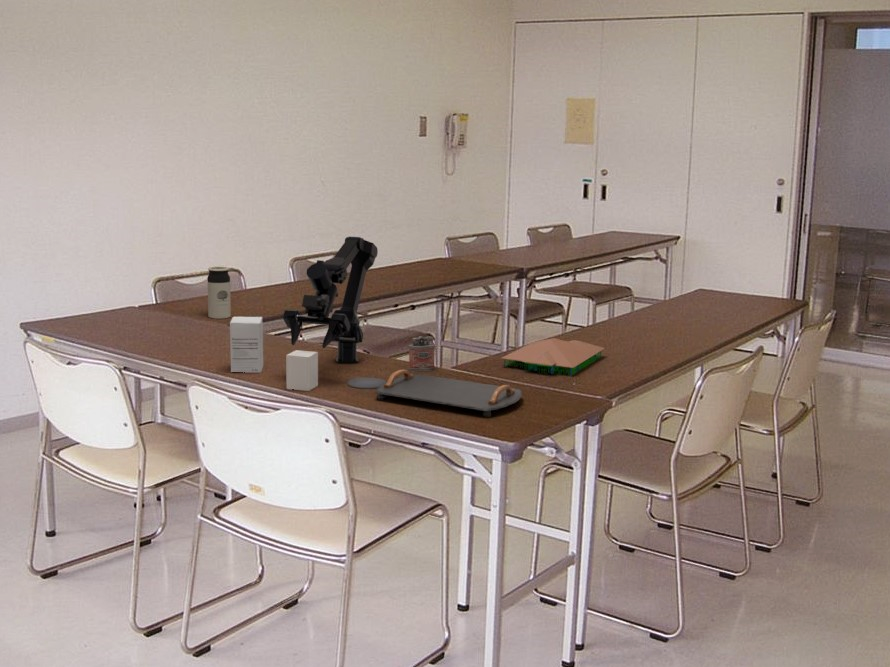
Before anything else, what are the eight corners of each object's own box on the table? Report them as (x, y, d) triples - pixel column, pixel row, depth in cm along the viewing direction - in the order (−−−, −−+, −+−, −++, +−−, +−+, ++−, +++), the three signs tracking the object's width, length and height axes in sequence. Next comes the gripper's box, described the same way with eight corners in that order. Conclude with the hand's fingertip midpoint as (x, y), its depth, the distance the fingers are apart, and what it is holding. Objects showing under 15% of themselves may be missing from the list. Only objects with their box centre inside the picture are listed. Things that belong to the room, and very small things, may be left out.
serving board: (364, 400, 281) (364, 377, 280) (407, 381, 301) (407, 360, 300) (497, 422, 264) (497, 398, 263) (532, 401, 284) (533, 378, 283)
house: (497, 370, 317) (497, 344, 315) (536, 349, 346) (538, 325, 344) (569, 380, 307) (570, 353, 305) (604, 358, 336) (605, 333, 334)
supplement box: (233, 365, 314) (232, 316, 311) (263, 365, 315) (263, 316, 311) (230, 373, 305) (228, 322, 302) (261, 373, 306) (260, 322, 303)
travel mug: (207, 315, 387) (206, 266, 384) (229, 314, 390) (228, 266, 386) (209, 319, 380) (208, 270, 376) (231, 318, 382) (230, 269, 379)
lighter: (410, 371, 311) (410, 338, 309) (407, 368, 314) (407, 336, 312) (436, 370, 314) (436, 337, 311) (433, 367, 317) (433, 335, 315)
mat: (345, 379, 301) (345, 377, 301) (383, 378, 303) (383, 377, 303) (348, 389, 290) (348, 387, 290) (388, 388, 292) (388, 386, 292)
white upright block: (296, 383, 295) (296, 350, 293) (317, 385, 293) (317, 352, 291) (286, 388, 289) (286, 355, 287) (308, 391, 287) (308, 357, 285)
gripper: (284, 281, 297) (267, 326, 289) (346, 285, 292) (331, 332, 284) (296, 304, 306) (280, 349, 298) (356, 309, 301) (342, 354, 293)
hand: (307, 345), depth 293 cm, fingers open, 9 cm apart
